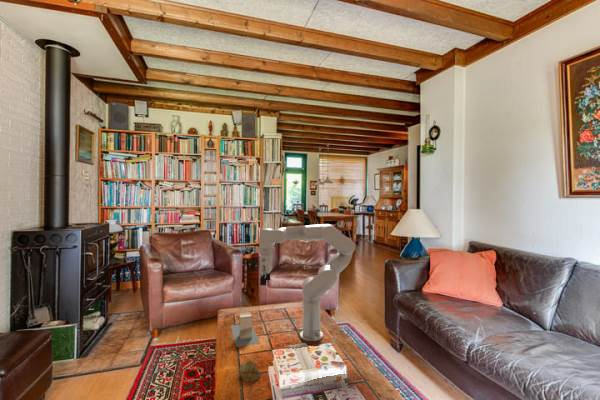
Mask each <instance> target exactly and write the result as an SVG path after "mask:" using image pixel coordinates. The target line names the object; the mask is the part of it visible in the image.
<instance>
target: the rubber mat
mask: <svg viewBox="0 0 600 400" xmlns="http://www.w3.org/2000/svg"><path fill="white" fill-rule="evenodd" d="M230 329H231V332H232V336H233V340H234V344H235V347H236V348H239V347H244V346H250V345H257V344H261V341H260V339H259V337H258V335H257V333H256V330H255V328H254V326H253V325H252V339H247V340H240V337H239V324H233V325H230Z"/></svg>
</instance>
